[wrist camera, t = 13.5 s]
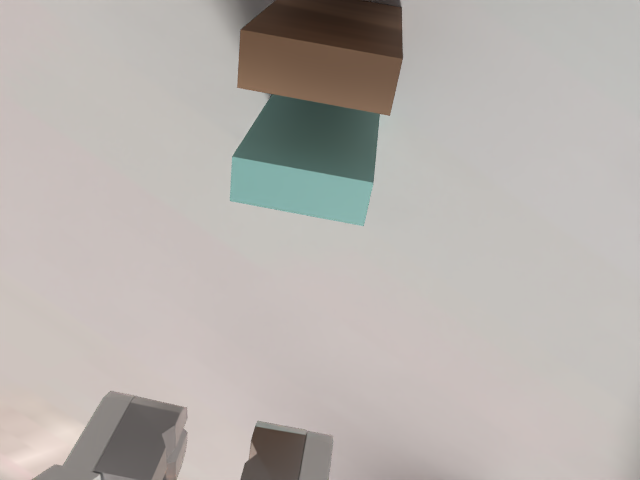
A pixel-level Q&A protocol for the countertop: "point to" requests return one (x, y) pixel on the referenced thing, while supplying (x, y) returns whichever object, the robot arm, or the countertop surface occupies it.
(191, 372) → the countertop surface
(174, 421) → the robot arm
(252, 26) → the domino
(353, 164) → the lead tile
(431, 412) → the countertop surface
